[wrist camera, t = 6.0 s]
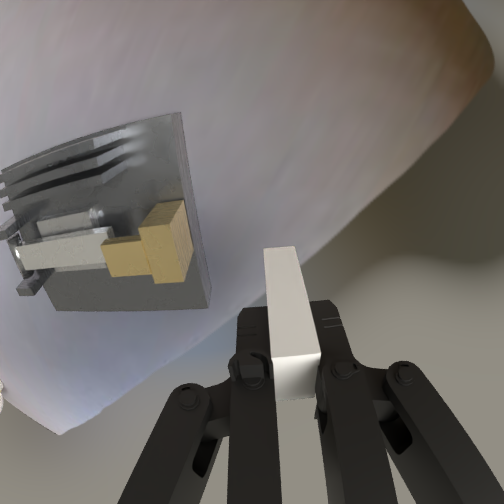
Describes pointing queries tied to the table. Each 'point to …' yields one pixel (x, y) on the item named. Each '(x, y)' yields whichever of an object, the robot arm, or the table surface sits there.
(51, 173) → the heatsink base
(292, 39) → the table surface
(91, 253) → the strap
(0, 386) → the mug
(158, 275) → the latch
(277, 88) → the table surface
